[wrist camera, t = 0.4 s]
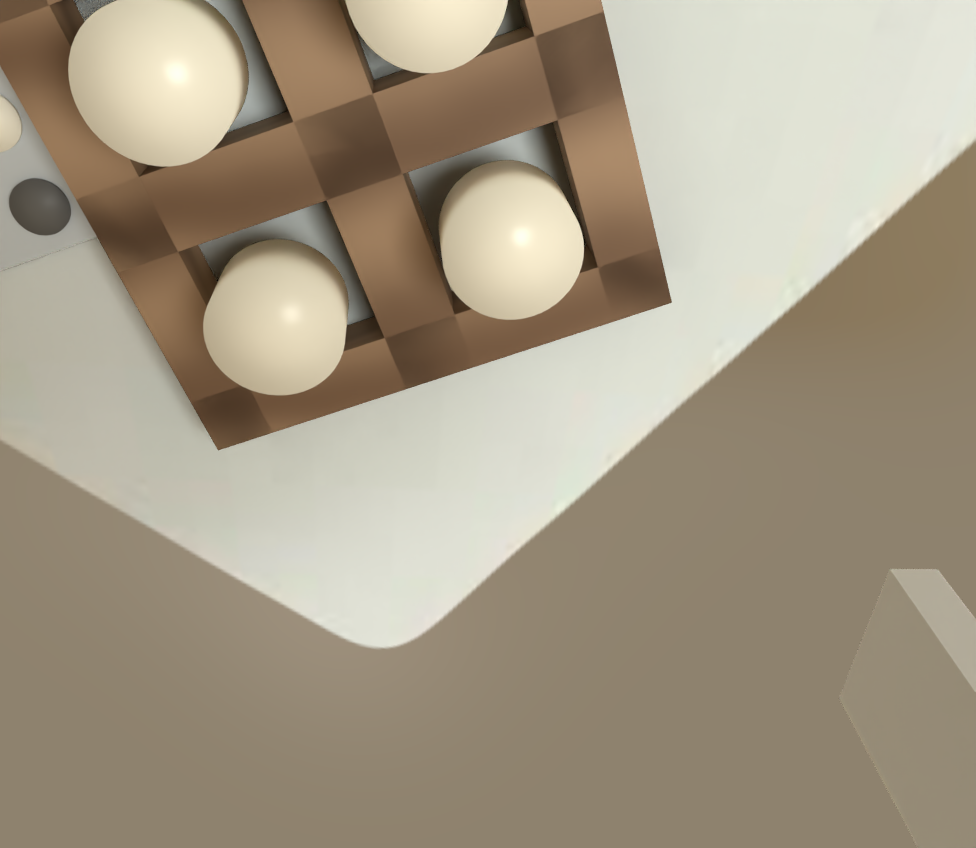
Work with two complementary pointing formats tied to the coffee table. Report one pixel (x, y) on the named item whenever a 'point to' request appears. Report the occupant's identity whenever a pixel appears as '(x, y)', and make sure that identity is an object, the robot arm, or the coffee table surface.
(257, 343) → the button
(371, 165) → the board
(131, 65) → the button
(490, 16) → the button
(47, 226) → the card
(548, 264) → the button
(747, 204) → the coffee table surface
